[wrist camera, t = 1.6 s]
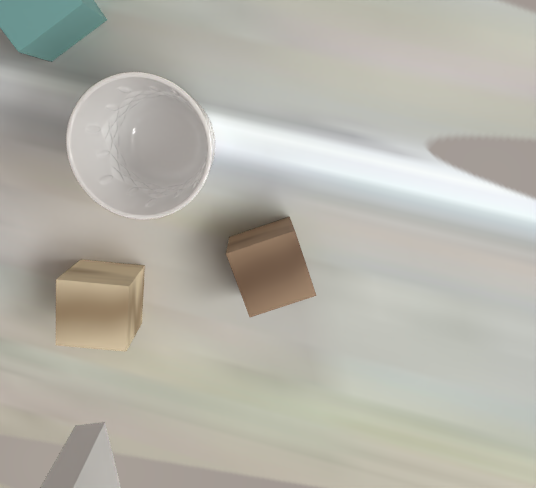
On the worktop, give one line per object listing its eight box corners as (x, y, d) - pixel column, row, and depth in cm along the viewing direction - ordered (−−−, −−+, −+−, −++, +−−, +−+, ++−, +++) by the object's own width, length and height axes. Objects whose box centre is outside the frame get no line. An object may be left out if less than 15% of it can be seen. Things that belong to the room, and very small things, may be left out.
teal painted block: (107, 20, 33) (83, 3, 29) (52, 61, 34) (18, 52, 29) (61, -47, 32) (27, -77, 27) (4, -3, 33) (-39, -24, 28)
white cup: (178, 214, 37) (151, 247, 27) (95, 145, 35) (36, 154, 26) (244, 136, 36) (241, 142, 26) (161, 61, 34) (125, 38, 24)
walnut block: (308, 273, 39) (316, 295, 34) (250, 292, 39) (249, 317, 34) (289, 216, 37) (294, 230, 32) (229, 236, 38) (225, 253, 33)
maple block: (141, 322, 39) (126, 351, 34) (80, 317, 39) (55, 345, 34) (144, 265, 38) (129, 286, 33) (81, 259, 38) (55, 279, 33)
